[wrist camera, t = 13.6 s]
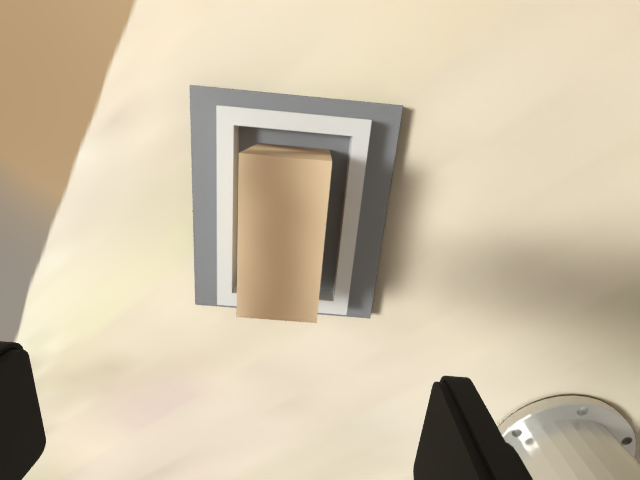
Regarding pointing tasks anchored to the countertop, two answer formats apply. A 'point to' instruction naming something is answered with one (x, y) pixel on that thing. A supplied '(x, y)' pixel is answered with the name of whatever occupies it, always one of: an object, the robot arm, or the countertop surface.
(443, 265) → the countertop surface
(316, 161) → the oak block
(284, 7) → the countertop surface
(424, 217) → the countertop surface
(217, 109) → the locator board
